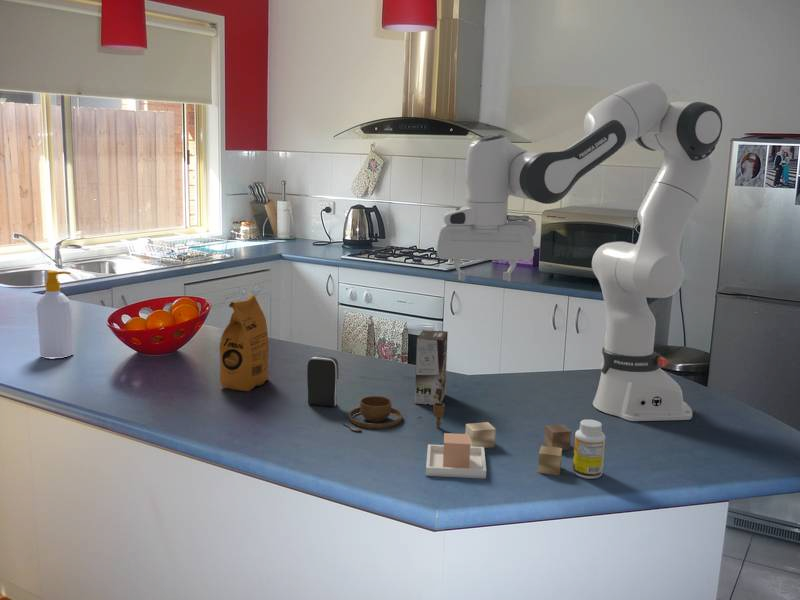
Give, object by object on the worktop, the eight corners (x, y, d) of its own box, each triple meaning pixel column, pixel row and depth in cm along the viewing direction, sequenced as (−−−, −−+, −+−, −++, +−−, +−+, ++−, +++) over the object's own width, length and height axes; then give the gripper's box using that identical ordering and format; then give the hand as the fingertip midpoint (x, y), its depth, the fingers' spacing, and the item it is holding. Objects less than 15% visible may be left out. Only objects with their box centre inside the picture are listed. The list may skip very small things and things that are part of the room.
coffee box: (440, 406, 182) (443, 340, 179) (413, 403, 184) (415, 338, 180) (446, 394, 191) (448, 330, 188) (420, 391, 192) (422, 328, 189)
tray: (483, 454, 155) (484, 447, 155) (485, 478, 144) (486, 470, 144) (427, 451, 156) (428, 444, 155) (425, 475, 145) (426, 467, 144)
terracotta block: (468, 458, 152) (469, 434, 151) (469, 468, 147) (470, 444, 146) (443, 457, 152) (444, 433, 151) (442, 467, 147) (443, 442, 146)
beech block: (487, 440, 163) (488, 422, 162) (494, 447, 159) (495, 429, 158) (464, 442, 162) (465, 423, 161) (471, 449, 158) (472, 430, 157)
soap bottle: (68, 360, 211) (63, 274, 206) (34, 359, 211) (28, 273, 206) (82, 351, 219) (77, 269, 214) (49, 351, 219) (43, 268, 215)
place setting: (387, 406, 183) (387, 382, 182) (448, 429, 169) (449, 404, 168) (328, 423, 171) (328, 397, 170) (390, 450, 157) (390, 423, 156)
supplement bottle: (580, 465, 151) (584, 415, 149) (607, 473, 148) (611, 422, 146) (566, 474, 147) (570, 423, 145) (593, 482, 143) (598, 430, 141)
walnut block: (562, 442, 163) (563, 424, 162) (570, 449, 159) (571, 431, 158) (544, 443, 162) (545, 425, 161) (551, 450, 158) (553, 432, 157)
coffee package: (213, 388, 191) (211, 301, 187) (241, 374, 202) (239, 292, 198) (248, 393, 188) (247, 305, 183) (274, 379, 199) (273, 295, 195)
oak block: (560, 467, 150) (562, 448, 149) (559, 475, 146) (560, 455, 146) (540, 464, 151) (541, 445, 150) (537, 472, 147) (539, 453, 147)
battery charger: (340, 402, 183) (340, 356, 181) (334, 408, 179) (335, 360, 177) (312, 399, 185) (312, 353, 182) (306, 404, 181) (306, 357, 179)
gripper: (534, 213, 163) (532, 278, 166) (437, 212, 164) (436, 277, 167) (538, 217, 157) (535, 284, 160) (437, 216, 158) (436, 282, 161)
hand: (484, 280), depth 164 cm, fingers open, 8 cm apart
